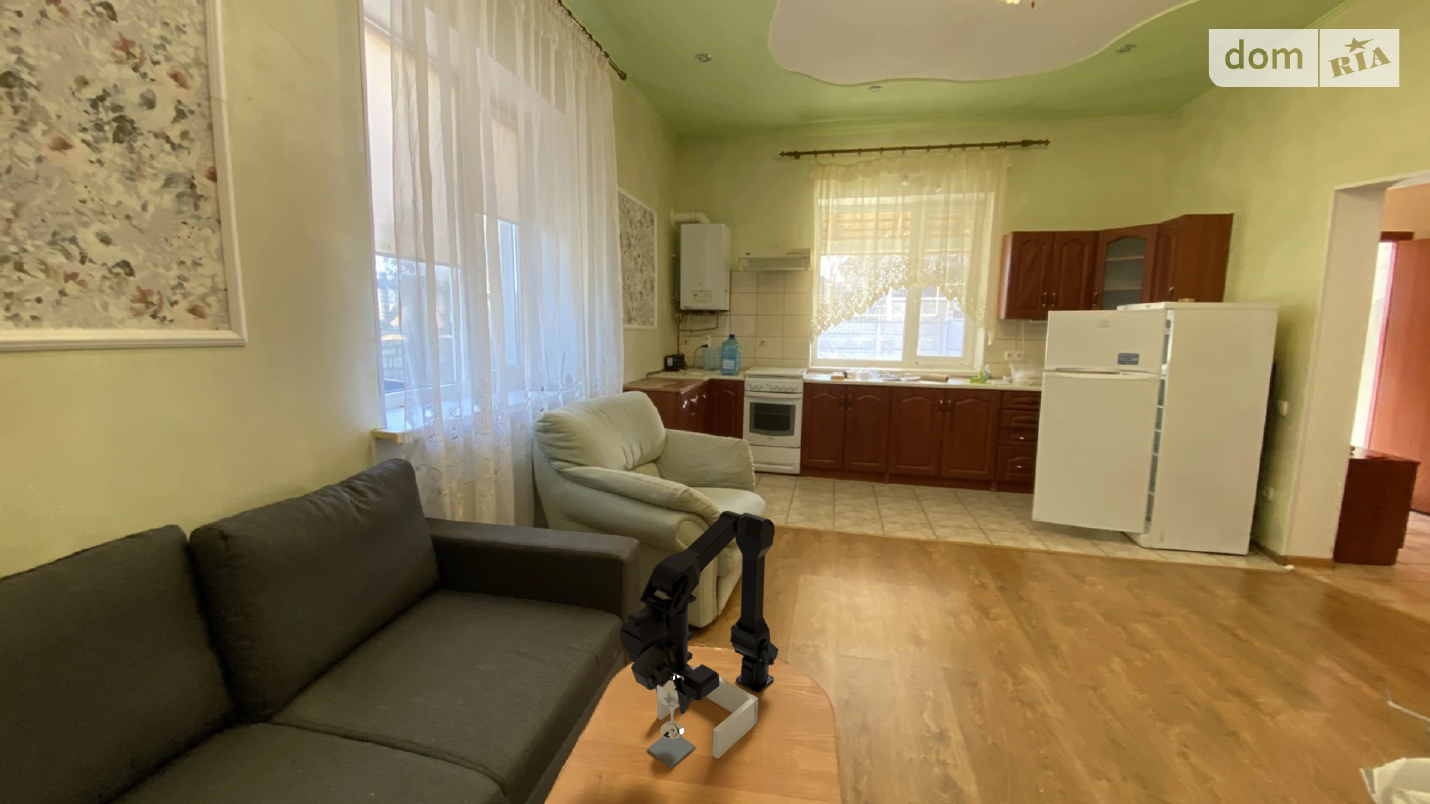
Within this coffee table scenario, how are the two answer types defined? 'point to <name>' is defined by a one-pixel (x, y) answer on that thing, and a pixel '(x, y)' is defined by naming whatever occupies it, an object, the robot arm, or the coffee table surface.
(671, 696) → the wineglass
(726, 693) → the corner wall
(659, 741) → the felt mat
